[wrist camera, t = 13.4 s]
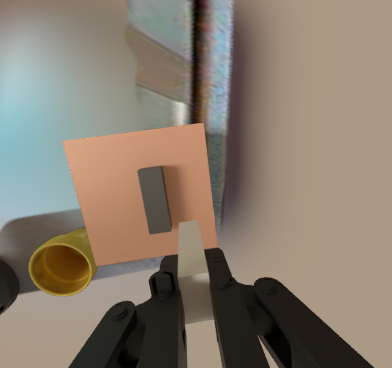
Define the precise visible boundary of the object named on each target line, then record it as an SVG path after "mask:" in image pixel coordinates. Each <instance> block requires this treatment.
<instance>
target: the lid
mask: <svg viewBox="0 0 392 368" xmlns="http://www.w3.org/2000/svg"><path fill="white" fill-rule="evenodd" d="M63 145H64V149H65V153H66V157H67V160H68V164H69V168H70V171H71V175H72V179H73V183H74V186H75V190H76V194H77V197H78V201H79V204H80V208H81V212H82V216H83V219H84V223H85V227H86V230H87V234H88V238H89V242H90V245H91V249H92V253H93V256H94V260H95V264H96V266H102V265H108V264H115V263H121V262H128V261H134V260H141V259H147V258H154V257H160V256H167V255H173V254H178V243H179V223H180V222H187V221H193V220H198V224H199V229H200V234H201V239H202V243H203V248H204V249H210V248H217V247H218V244H217V235H216V227H215V218H214V209H213V201H212V192H211V183H210V174H209V166H208V157H207V148H206V140H205V131H204V123H199V124H191V125H183V126H176V127H168V128H160V129H152V130H145V131H137V132H129V133H121V134H114V135H107V136H98V137H90V138H83V139H75V140H67V141H63Z"/></svg>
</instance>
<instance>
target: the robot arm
mask: <svg viewBox="0 0 392 368" xmlns="http://www.w3.org/2000/svg"><path fill="white" fill-rule="evenodd" d="M149 285H150V290H151V295H152V296H151V298H150V299H149V300H147V301H146V302H144V303H142V304H139V305H137V306H135V305H134V304H133V303H132V302H131V301H123V302H119V303H117V304H115V305H114V306H112V307H111V308H110V309H109V310H108V311H107V312H106V314H105V315H104V317H103V318H102V320H101V321H100V323H99V324H98V325H97V327H96V328H95V330H94V331H93V333H92V334H91V336H90V337H89V338H88V340H87V341H86V343H85V345H84V346H83V347H82V349H81V350H80V352H79V353H78V354H77V356H76V357H75V359H74V360H73V362H72V363H71V365H70V366H69V367H68V368H187V343H186V330H185V324H190V323H195V322H201V321H207V320H213V319H214V320H215V328H216V335H217V342H218V345H219V350H220V356H221V362H222V367H223V368H270V367H269V364H268V362H267V359H266V357H265V354H264V351H263V348H262V346H261V344H260V341H259V338H260V340H261V341H262V343H263V344H264V346H265V347H266V349H267V350H268V352H269V353H270V355H271V356H272V358H273V359H274V361H275V362H276V364H277V365H278V367H279V368H374V367H373V366H372V365H371V364H370V363H368V362H367V361H366V360H365V359H364V358H363V357H362V356H361V355H360V354H359V353H357V352H356V351H355V350H354V349H353V348H352V347H351V346H350V345H349V344H348V343H346V342H345V341H344V340H343V339H342V338H341V337H340V336H339V335H338V334H337V333H335V332H334V331H333V330H332V329H331V328H330V327H329V326H328V325H327V324H326V323H325V322H323V321H322V320H321V319H320V318H319V317H318V316H317V315H316V314H315V313H314V312H312V311H311V310H310V309H309V308H308V307H307V306H306V305H305V304H304V303H303V302H301V301H300V300H299V299H298V298H297V297H296V296H295V295H293V294H292V292H290V291H289V290H288V289H287V288H286V287H285V286H284V285H283V284H282V283H280V282H279V281H277V280H276V279H273V278H268V277H264V278H259V279H258V280H256V281H255V283H254V286H252V285H244V284H241V283H238V282H237V281H236V280H235V278H233V277H232V275H231V272H230V270H229V267H228V264H227V262H226V259H225V257H224V253H223V251H222V250H221V249H219V248H218V247H217V248H210V249H204V248H203V243H202V239H201V234H200V229H199V224H198V220H193V221H187V222H180V223H179V243H178V254H176V255H169V256H165V257H164V258H163V259H162V261H161V264H160V270H159V271H158V272H156V273H154V274H153V275H152V276H151V277H150V279H149ZM18 291H19V285H18V281H17V278H16V276H15V274H14V272H13V271H12V270H11V268H10V267H9V266H8V265H6V264H5V263H4V262H2V261H1V260H0V315H1V314H2V313H3V312H4V311H5V310H6V309H7V308H9V307H10V305H12V303H13V302H14V301H15V300H16V298H17V295H18ZM257 335H258V336H259V338H258V336H257Z"/></svg>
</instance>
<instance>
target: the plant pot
mask: <svg viewBox="0 0 392 368" xmlns="http://www.w3.org/2000/svg"><path fill="white" fill-rule="evenodd" d="M97 269H98V266H96V264H95V260H94V256H93V253H92V249H91V245H90V242H89V238H88V234H87V230H86V228H81V229H77V230H75V231H73V232H71V233H69V234H64V235H59V236H56V237H53V238H52V239H50V240H48V241H47V242H46V243H44V244H43V245H42V246H40V247H39V248H38V249H37V250H36V251H35V252H34V253H33V255H32V256H31V258H30V261H29V274H30V277H31V279H32V281H33V282H34V284H35V285H36V286H37V287H38V288H39V289H41V290H42V291H44V292H46V293H48V294H51V295H55V296H70V295H74V294H77V293H79V292H81V291H82V290H84V289H85V288H86V287H87V286H88V285H89V283H90V282H91V280H92V278H93V277H94V275H95V273H96V271H97Z"/></svg>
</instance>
